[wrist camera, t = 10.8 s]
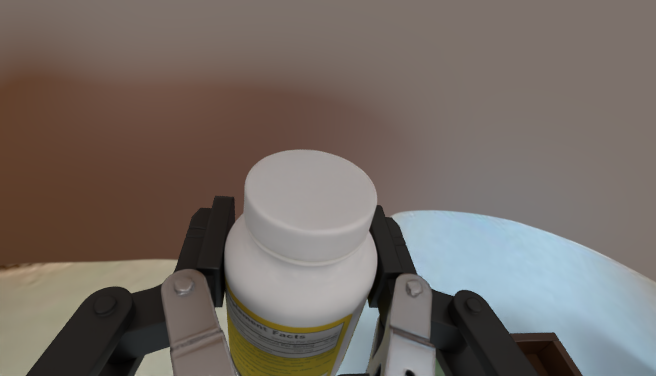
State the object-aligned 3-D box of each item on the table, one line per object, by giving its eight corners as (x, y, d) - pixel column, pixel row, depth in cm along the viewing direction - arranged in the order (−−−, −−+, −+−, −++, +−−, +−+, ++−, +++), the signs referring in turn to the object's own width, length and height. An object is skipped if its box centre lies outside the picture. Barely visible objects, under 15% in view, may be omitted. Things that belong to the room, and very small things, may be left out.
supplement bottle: (288, 276, 19) (311, 123, 13) (363, 343, 16) (435, 194, 10) (204, 341, 15) (180, 171, 9) (284, 440, 13) (323, 298, 7)
